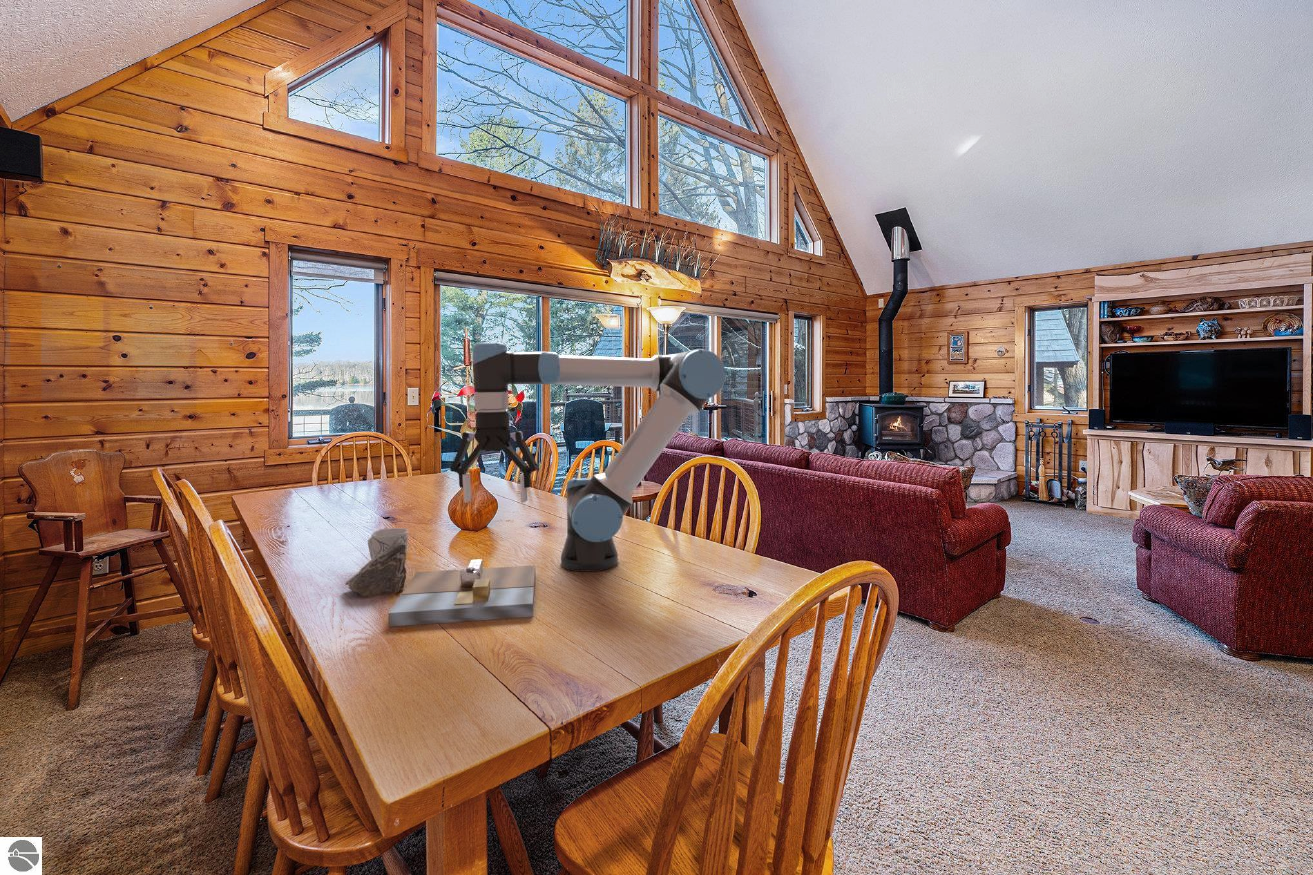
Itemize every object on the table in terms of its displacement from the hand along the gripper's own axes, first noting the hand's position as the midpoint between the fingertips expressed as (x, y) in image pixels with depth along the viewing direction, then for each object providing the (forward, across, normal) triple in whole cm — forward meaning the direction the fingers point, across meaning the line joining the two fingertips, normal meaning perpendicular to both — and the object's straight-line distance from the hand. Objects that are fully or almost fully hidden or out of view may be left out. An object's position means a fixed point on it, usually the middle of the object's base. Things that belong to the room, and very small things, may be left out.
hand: (495, 501), depth 138 cm
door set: (+20, +4, +8) cm, 22 cm away
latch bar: (+17, +5, +2) cm, 18 cm away
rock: (+20, +28, +4) cm, 35 cm away
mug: (+20, +33, -10) cm, 40 cm away
